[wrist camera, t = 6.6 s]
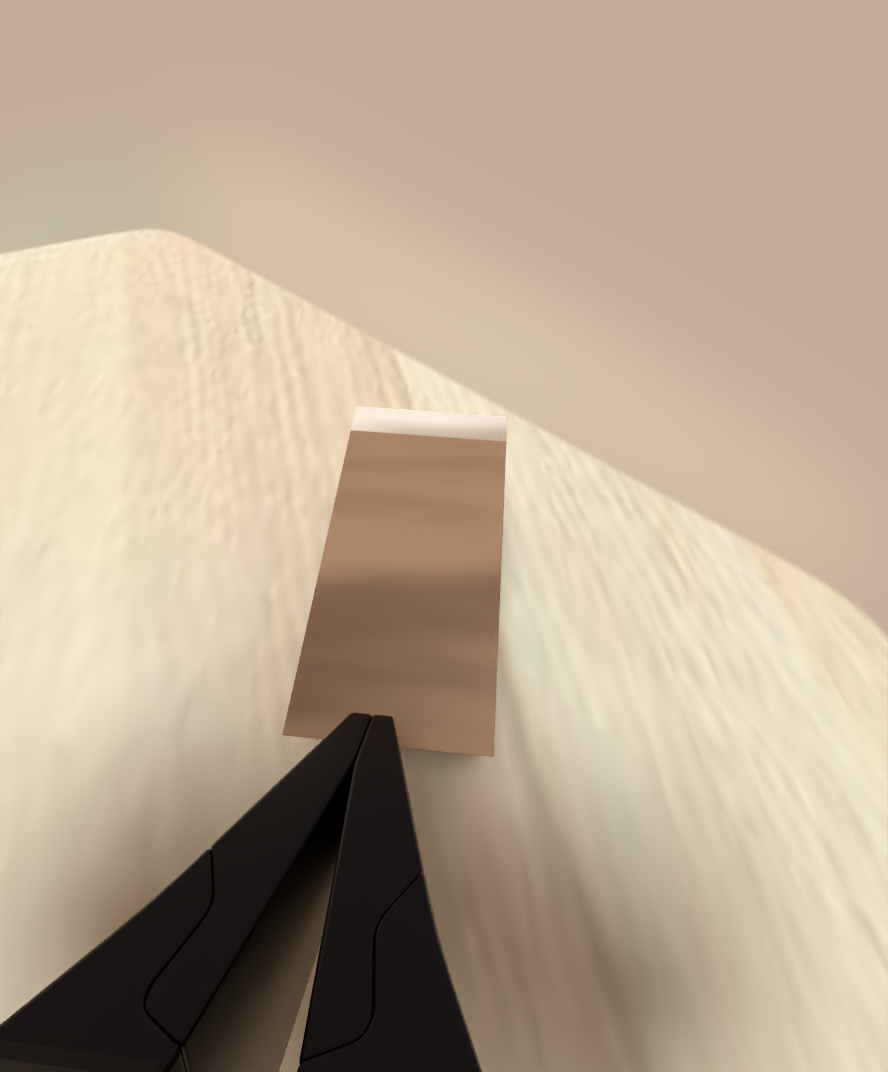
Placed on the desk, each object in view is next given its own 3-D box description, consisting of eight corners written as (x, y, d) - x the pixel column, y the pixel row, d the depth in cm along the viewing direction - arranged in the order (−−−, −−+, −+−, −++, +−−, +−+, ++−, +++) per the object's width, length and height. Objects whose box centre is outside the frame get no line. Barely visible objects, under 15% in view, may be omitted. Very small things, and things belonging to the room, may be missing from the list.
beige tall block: (493, 757, 10) (507, 416, 14) (282, 734, 10) (356, 406, 15) (478, 751, 15) (492, 494, 19) (332, 736, 15) (377, 485, 19)
